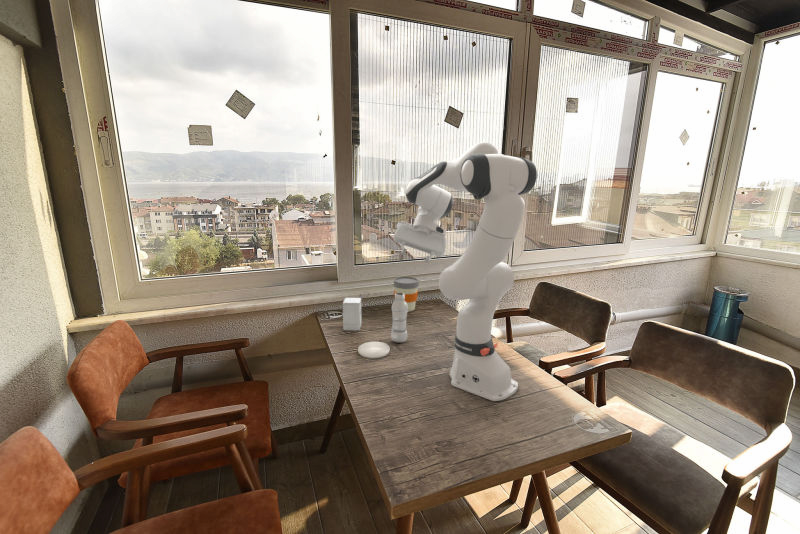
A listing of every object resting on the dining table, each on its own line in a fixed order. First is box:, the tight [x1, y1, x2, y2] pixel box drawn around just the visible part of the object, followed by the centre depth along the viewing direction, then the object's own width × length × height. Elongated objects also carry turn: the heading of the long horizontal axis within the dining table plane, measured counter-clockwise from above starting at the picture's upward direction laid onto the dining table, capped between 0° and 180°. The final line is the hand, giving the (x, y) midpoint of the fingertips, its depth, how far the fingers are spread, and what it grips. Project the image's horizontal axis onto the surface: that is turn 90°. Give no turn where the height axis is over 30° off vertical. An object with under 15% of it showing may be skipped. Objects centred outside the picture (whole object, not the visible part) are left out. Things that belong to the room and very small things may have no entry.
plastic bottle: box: [390, 293, 408, 344], centre depth 149 cm, size 6×7×20 cm
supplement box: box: [342, 297, 362, 331], centre depth 163 cm, size 7×7×13 cm
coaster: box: [357, 341, 391, 359], centre depth 143 cm, size 12×12×1 cm
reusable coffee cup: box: [393, 276, 420, 313], centre depth 186 cm, size 13×13×15 cm
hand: (415, 257), depth 138 cm, fingers open, 8 cm apart
